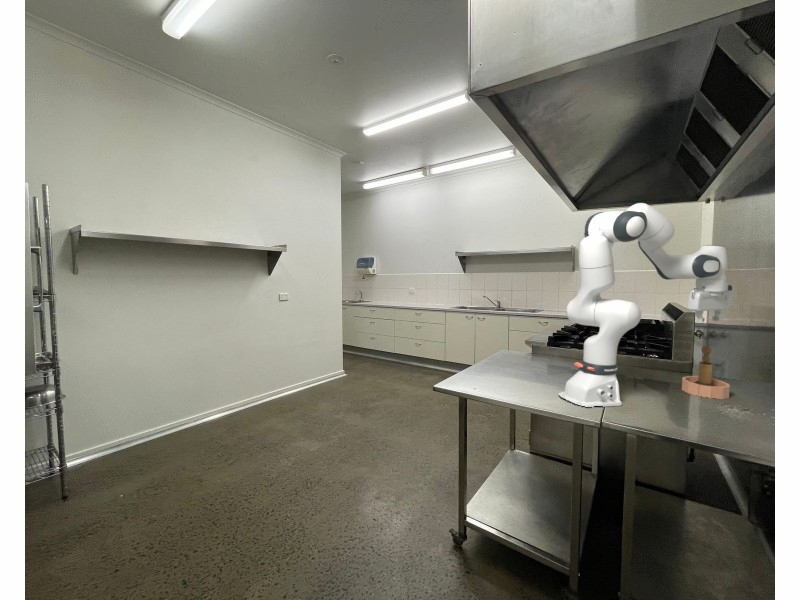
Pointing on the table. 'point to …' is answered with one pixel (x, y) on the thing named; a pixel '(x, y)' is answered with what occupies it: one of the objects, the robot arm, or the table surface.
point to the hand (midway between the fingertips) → (708, 321)
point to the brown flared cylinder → (705, 368)
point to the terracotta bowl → (706, 388)
